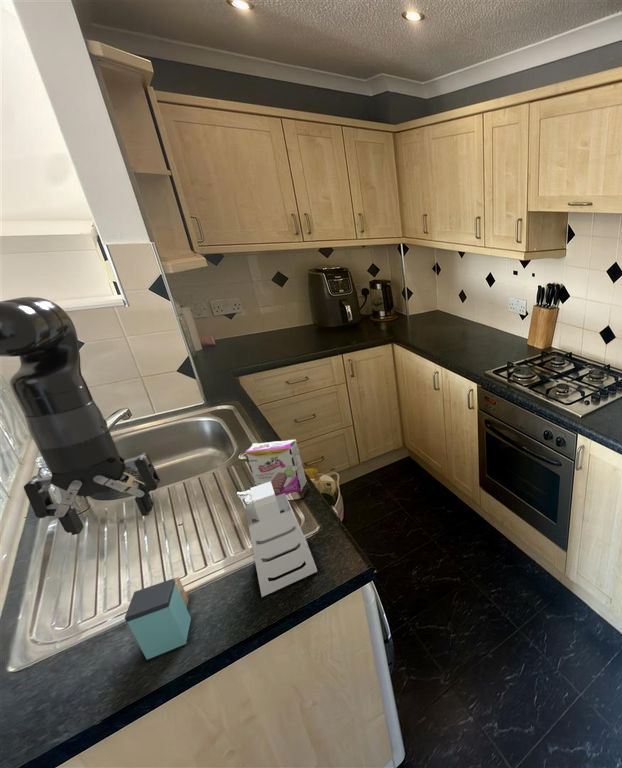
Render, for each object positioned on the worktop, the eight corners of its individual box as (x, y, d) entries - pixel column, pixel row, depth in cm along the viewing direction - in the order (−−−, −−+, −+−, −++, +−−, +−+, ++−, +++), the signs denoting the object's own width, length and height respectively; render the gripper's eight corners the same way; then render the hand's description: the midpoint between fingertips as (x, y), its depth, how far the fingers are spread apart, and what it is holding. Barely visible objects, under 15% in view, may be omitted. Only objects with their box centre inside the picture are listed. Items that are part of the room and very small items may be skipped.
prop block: (164, 622, 76) (153, 599, 74) (168, 606, 79) (158, 583, 77) (185, 614, 78) (174, 591, 76) (188, 599, 81) (178, 576, 79)
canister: (156, 657, 73) (127, 665, 64) (150, 592, 77) (122, 591, 67) (194, 641, 75) (171, 647, 66) (187, 580, 79) (164, 577, 70)
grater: (307, 543, 94) (287, 470, 87) (317, 571, 86) (296, 493, 79) (255, 565, 89) (229, 488, 82) (261, 597, 81) (232, 515, 74)
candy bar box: (260, 505, 109) (243, 452, 103) (267, 494, 113) (251, 442, 107) (304, 499, 110) (290, 447, 104) (309, 489, 115) (296, 438, 109)
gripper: (-11, 459, 54) (43, 553, 60) (127, 432, 61) (163, 519, 66) (17, 436, 60) (64, 524, 66) (140, 414, 67) (172, 496, 73)
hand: (114, 522), depth 66 cm, fingers open, 8 cm apart
